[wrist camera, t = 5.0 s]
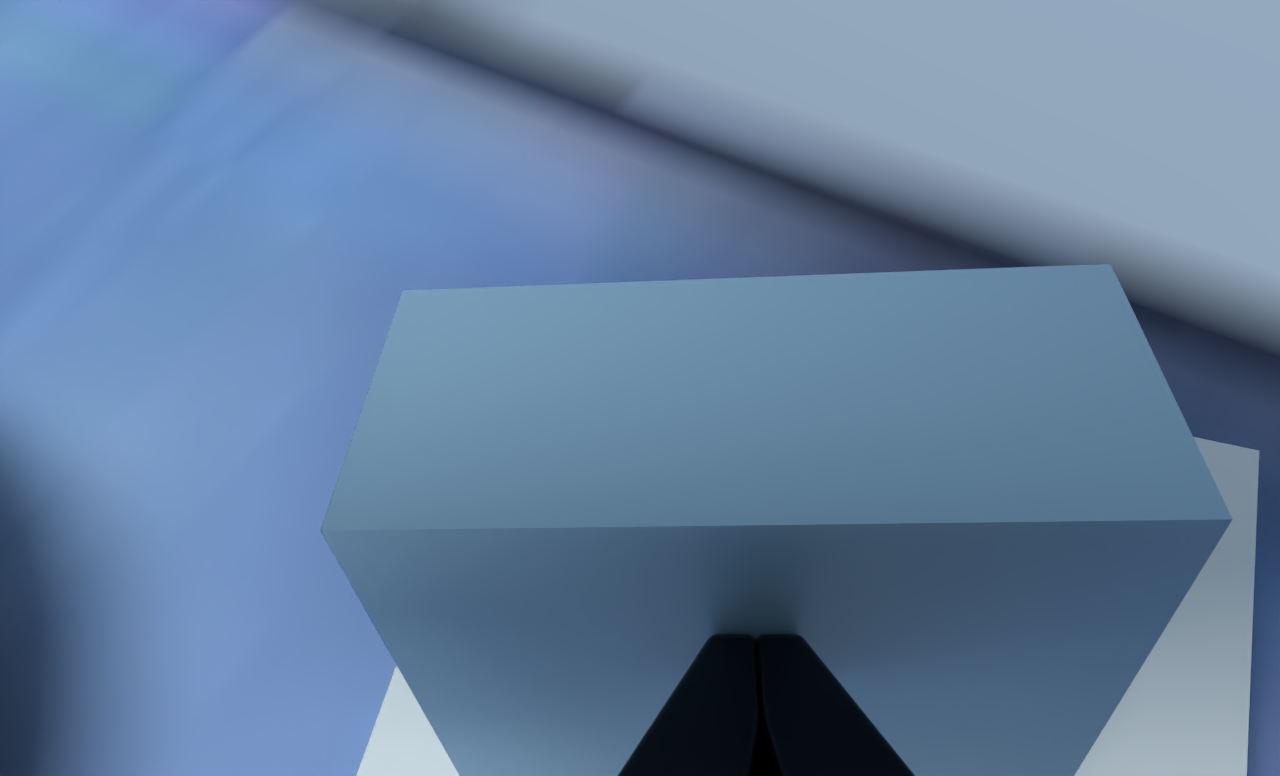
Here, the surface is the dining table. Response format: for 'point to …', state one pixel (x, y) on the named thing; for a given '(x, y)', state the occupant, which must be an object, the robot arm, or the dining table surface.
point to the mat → (1143, 720)
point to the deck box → (774, 506)
